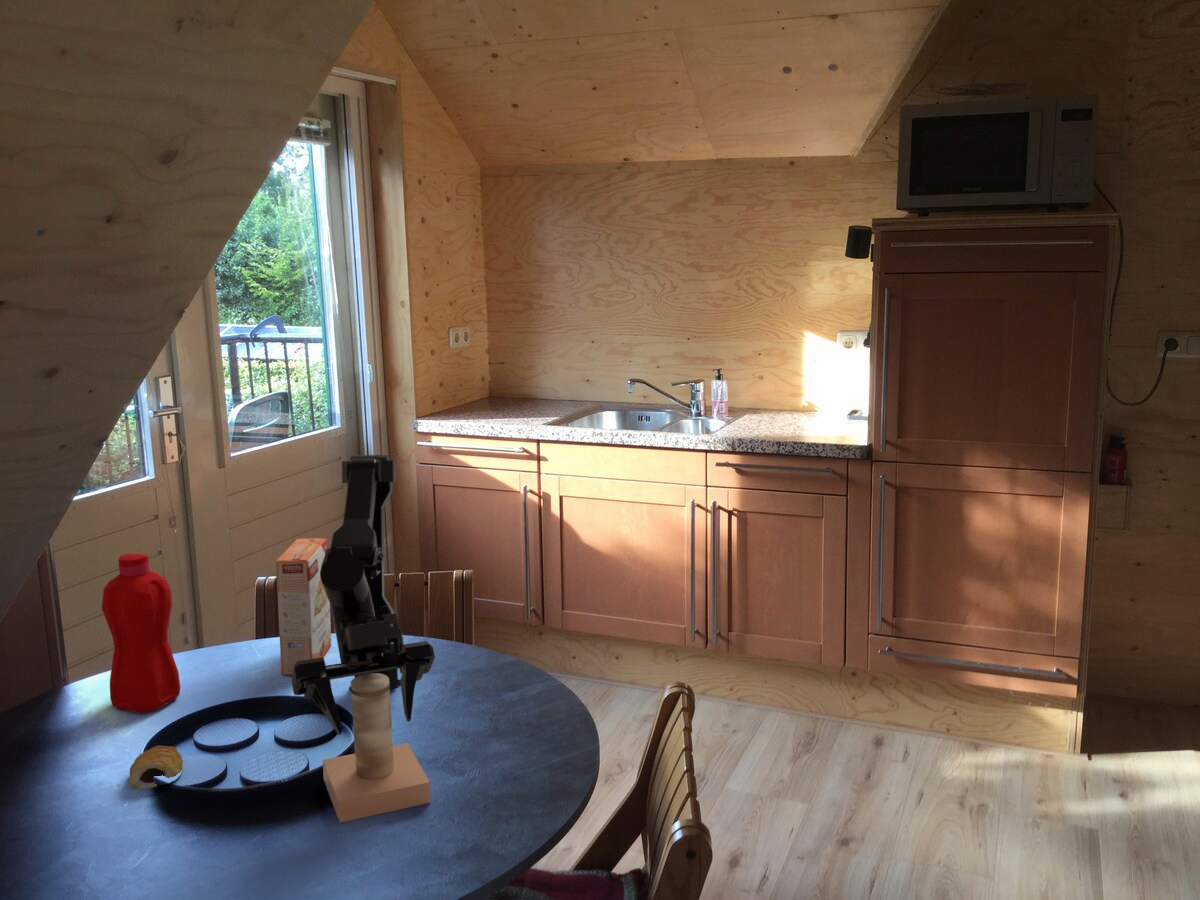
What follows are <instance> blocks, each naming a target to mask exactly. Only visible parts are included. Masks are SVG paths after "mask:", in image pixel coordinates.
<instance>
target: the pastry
mask: <svg viewBox="0 0 1200 900" xmlns="http://www.w3.org/2000/svg"><path fill="white" fill-rule="evenodd" d="M183 764H184V761H183V757H182V755H181V753H180V752H179V751H178V749H177V748H176V747H174V746H172V745H171V746H167V745H155V746H153V747H150V749H148V750H145V751H143V753H140V754H139V755H138V756H137V757H136V758H135V760H134V761H133V763H132V764H131V766H130V767H129V779H128V781H127V783H128V786H130V787H131V788H132V789H133V790H147V789H151V788H155V787H158V786H157V784H155V782H154V780H153V777H154V776H162V775H163V776H165V777H167V778H170V777H174V776H176V775H177V774H178V773H180V772H181V770H182V771H183Z"/></svg>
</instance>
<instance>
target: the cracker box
mask: <svg viewBox="0 0 1200 900" xmlns="http://www.w3.org/2000/svg"><path fill="white" fill-rule="evenodd" d="M328 545H329V543H328V538H321V537H320V538H319V537H318V538H317V537H316V538H296V540H295V541H294V542H293V543H292V544H291V545H289V547H288V548H287V549H286V550H285V551H284V552H283V553H282V554H281V555H280V556H279V557H278V558H277V559H276V561H275V567H276V568H275V569H276V571H275V572H276V573H275V574H276V588H277V607H278V608H277V609H278V631H279V649H280V652H279V653H280V671H281V676H292V674H293V667H294V665H295V664H296V663H297V661H302V660H308V659H315V658H321V657H323V659H324V658H325V656H326V655H327V653H328V651H329V650H330V648H331V647H332V632H331V630H332V629H331V627H332V625H331V604H330V602H329V600H328V598H327V595H326V592H325V589H324V586H323V584H322V581H321V578H320V570H321V566H322V563H323V560H324V557H325V554H326V550H327V549H329V548H328V547H329V546H328Z"/></svg>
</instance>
